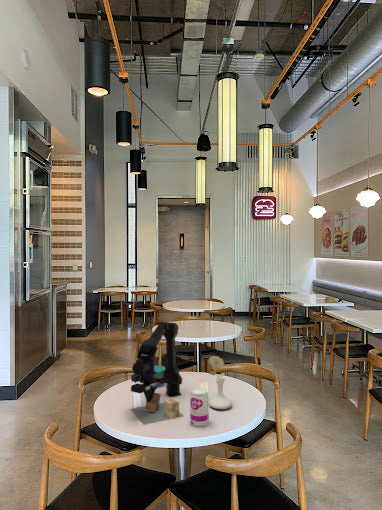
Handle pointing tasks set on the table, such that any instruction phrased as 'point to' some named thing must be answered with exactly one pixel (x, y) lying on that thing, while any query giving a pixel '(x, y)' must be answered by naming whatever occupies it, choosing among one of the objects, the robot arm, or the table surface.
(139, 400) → the table surface
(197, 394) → the supplement can
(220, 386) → the flower in vase
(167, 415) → the oak block
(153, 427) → the table surface
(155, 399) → the walnut block
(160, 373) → the snack cup
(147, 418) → the slate mat
